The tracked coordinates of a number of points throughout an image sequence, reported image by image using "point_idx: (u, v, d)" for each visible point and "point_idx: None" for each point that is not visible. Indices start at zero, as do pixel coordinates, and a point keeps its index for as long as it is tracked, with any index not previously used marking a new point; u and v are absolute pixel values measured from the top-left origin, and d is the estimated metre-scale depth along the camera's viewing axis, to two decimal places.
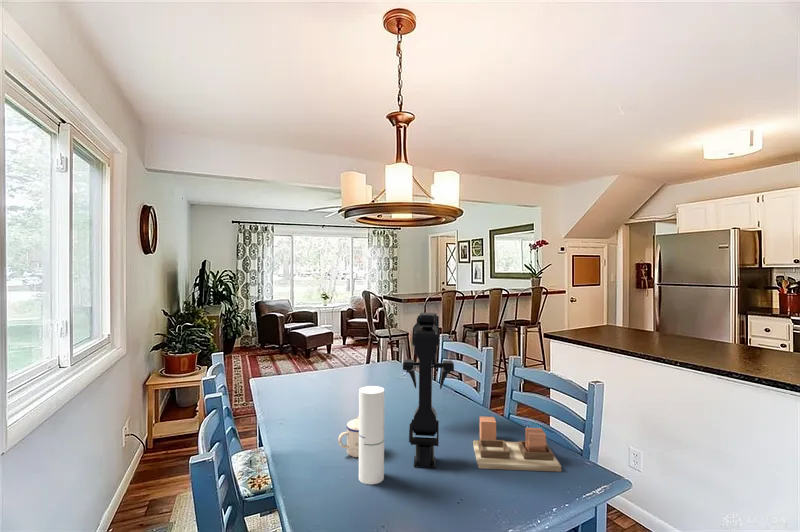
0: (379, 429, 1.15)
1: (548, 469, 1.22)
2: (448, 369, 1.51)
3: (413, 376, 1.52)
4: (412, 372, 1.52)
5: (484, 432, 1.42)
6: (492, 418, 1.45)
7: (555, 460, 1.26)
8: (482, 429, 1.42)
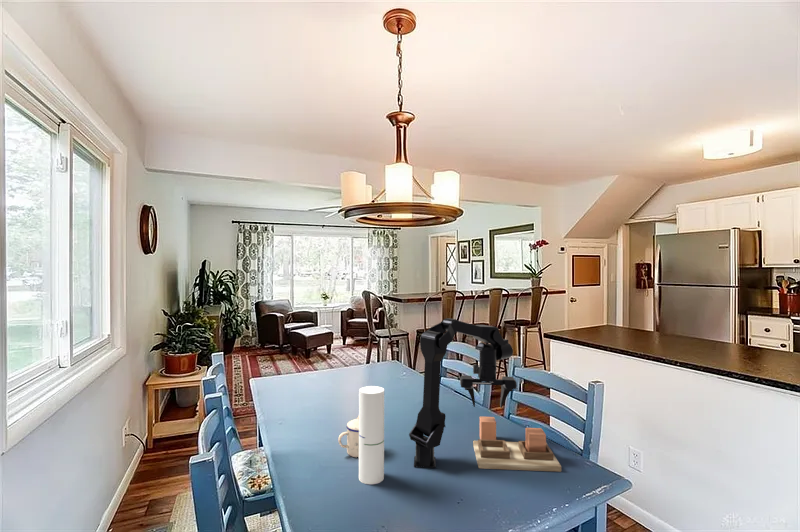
0: (379, 429, 1.15)
1: (548, 469, 1.22)
2: (510, 387, 1.40)
3: (472, 394, 1.42)
4: (471, 390, 1.42)
5: (484, 432, 1.42)
6: (492, 418, 1.45)
7: (555, 460, 1.26)
8: (482, 429, 1.42)
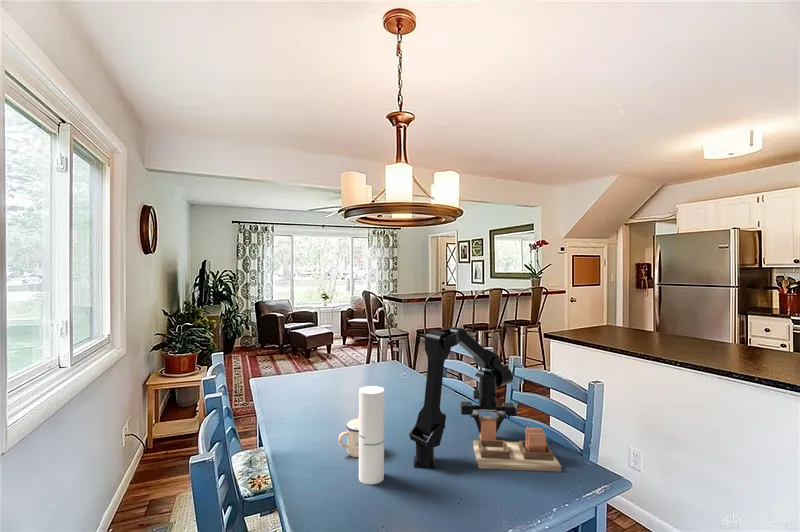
0: (379, 429, 1.15)
1: (548, 469, 1.22)
2: (511, 414, 1.40)
3: (478, 421, 1.42)
4: (477, 417, 1.41)
5: (484, 432, 1.42)
6: (492, 418, 1.45)
7: (555, 460, 1.26)
8: (482, 429, 1.42)
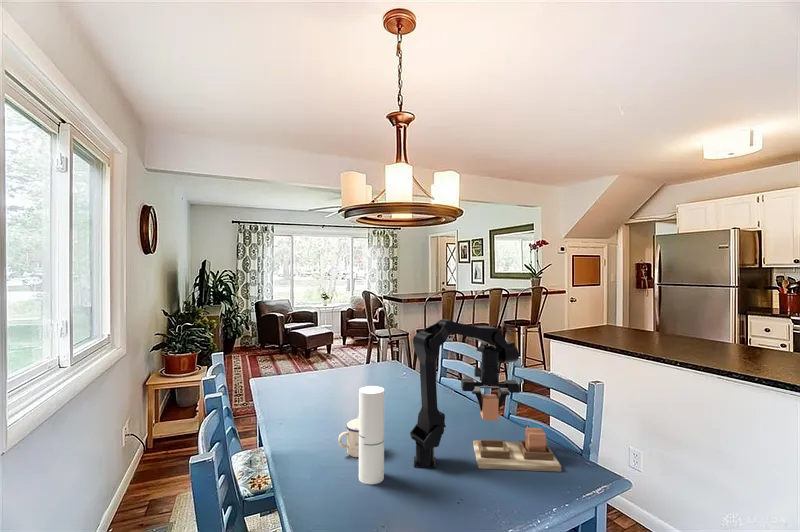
0: (379, 429, 1.15)
1: (548, 469, 1.22)
2: (514, 391, 1.35)
3: (480, 398, 1.36)
4: (479, 394, 1.36)
5: (486, 409, 1.36)
6: (494, 395, 1.39)
7: (555, 460, 1.26)
8: (484, 406, 1.36)
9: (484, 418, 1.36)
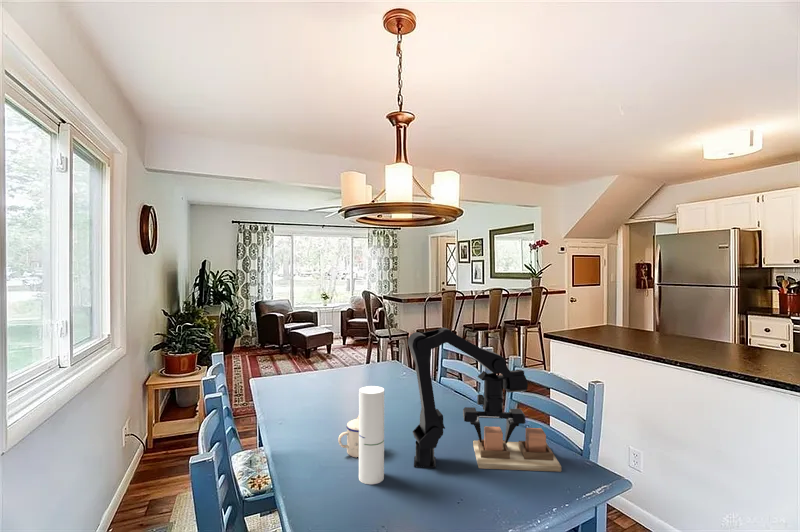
0: (379, 429, 1.15)
1: (548, 469, 1.22)
2: (519, 421, 1.27)
3: (478, 429, 1.29)
4: (478, 424, 1.29)
5: (490, 444, 1.29)
6: (498, 428, 1.32)
7: (555, 460, 1.26)
8: (487, 441, 1.29)
9: None
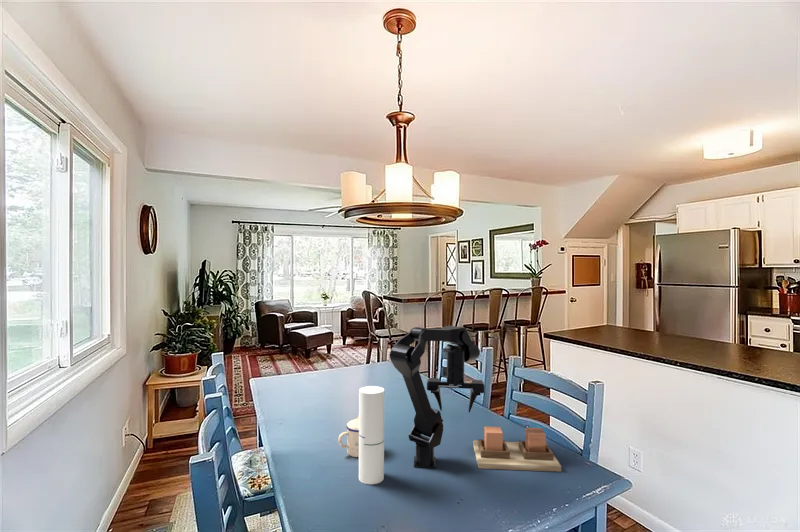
0: (379, 429, 1.15)
1: (548, 469, 1.22)
2: (478, 391, 1.34)
3: (438, 397, 1.36)
4: (437, 393, 1.36)
5: (490, 444, 1.29)
6: (498, 428, 1.32)
7: (555, 460, 1.26)
8: (487, 441, 1.29)
9: None
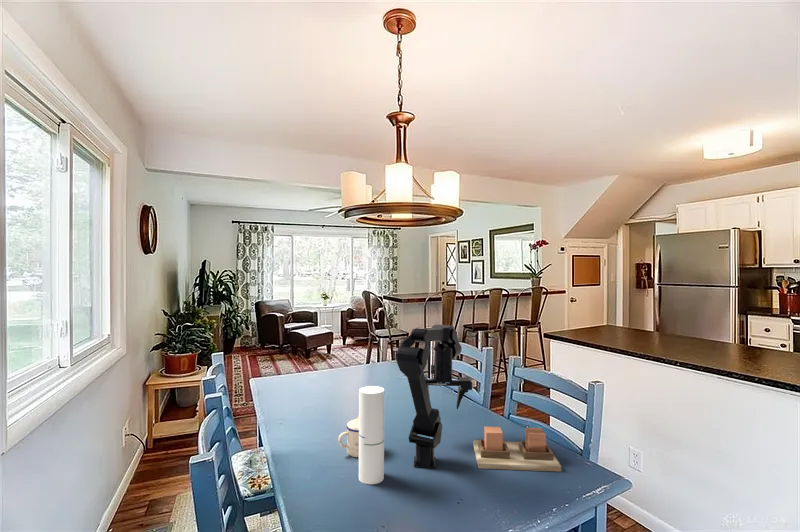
0: (379, 429, 1.15)
1: (548, 469, 1.22)
2: (466, 388, 1.37)
3: None
4: None
5: (490, 444, 1.29)
6: (498, 428, 1.32)
7: (555, 460, 1.26)
8: (487, 441, 1.29)
9: None
